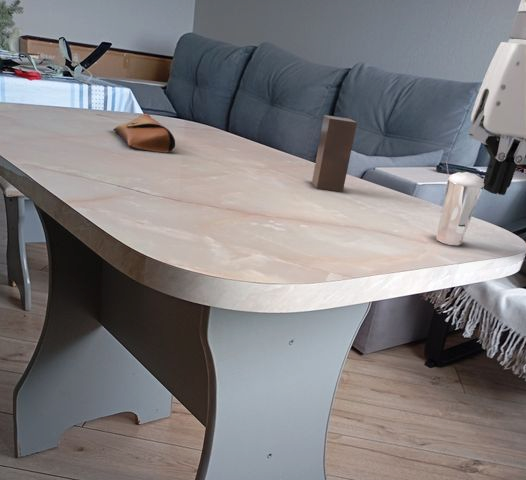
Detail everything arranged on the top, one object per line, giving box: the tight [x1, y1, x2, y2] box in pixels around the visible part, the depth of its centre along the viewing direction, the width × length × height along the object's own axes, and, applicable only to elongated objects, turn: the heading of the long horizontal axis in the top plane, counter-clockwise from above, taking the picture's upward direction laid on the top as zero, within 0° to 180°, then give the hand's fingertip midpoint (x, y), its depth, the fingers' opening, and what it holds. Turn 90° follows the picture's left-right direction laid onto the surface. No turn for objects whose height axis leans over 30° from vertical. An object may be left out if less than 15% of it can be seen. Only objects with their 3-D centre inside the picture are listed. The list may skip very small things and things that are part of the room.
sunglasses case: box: [112, 113, 176, 154], centre depth 115 cm, size 18×7×7 cm
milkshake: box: [435, 160, 484, 247], centre depth 80 cm, size 4×5×10 cm
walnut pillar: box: [311, 114, 358, 193], centre depth 101 cm, size 4×4×11 cm
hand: (493, 191), depth 80 cm, fingers closed
